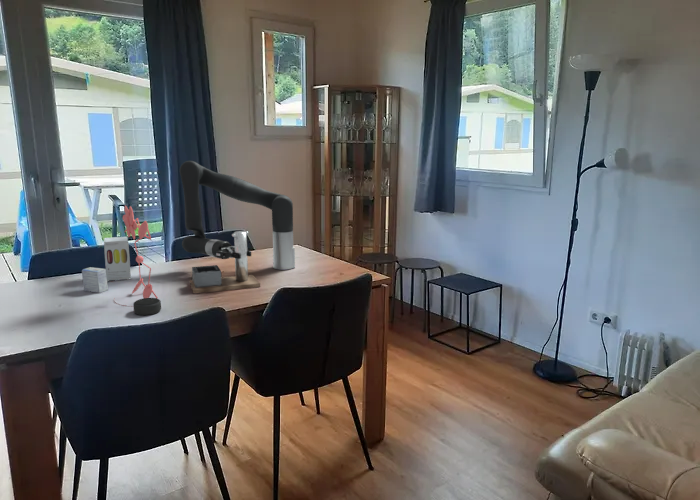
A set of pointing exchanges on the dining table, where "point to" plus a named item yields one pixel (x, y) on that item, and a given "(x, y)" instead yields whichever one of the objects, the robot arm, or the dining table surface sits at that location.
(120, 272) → the supplement box
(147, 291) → the figurine
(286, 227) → the robot arm
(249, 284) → the stand board
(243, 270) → the silver flared cylinder
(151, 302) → the smart speaker
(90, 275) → the white paper stack
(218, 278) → the box
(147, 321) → the dining table surface
